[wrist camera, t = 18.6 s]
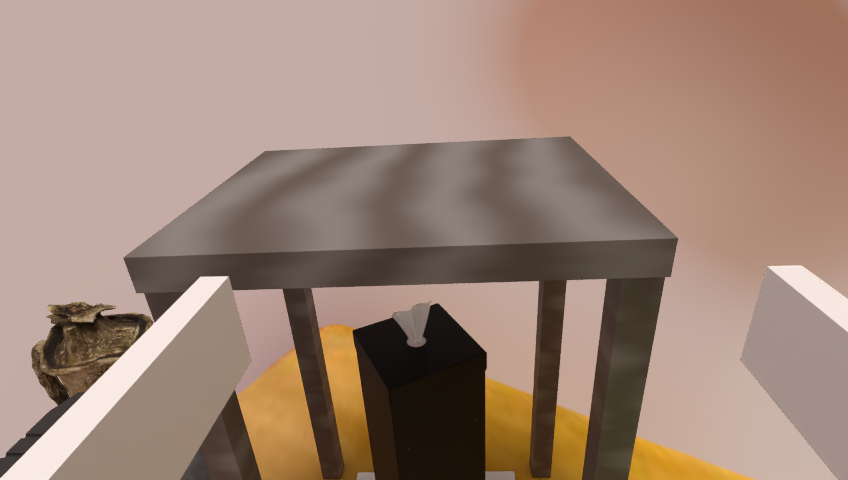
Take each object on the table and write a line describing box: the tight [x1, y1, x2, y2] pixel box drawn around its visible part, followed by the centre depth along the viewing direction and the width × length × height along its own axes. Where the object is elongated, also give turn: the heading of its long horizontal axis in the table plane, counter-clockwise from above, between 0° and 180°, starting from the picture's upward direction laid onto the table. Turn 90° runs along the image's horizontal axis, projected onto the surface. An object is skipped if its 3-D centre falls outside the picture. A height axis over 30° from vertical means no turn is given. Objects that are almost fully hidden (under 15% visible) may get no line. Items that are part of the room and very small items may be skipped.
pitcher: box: [31, 302, 212, 480], centre depth 42 cm, size 11×19×30 cm, turn 65°
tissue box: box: [353, 301, 487, 480], centre depth 41 cm, size 8×8×28 cm
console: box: [124, 137, 678, 480], centre depth 39 cm, size 26×20×38 cm
